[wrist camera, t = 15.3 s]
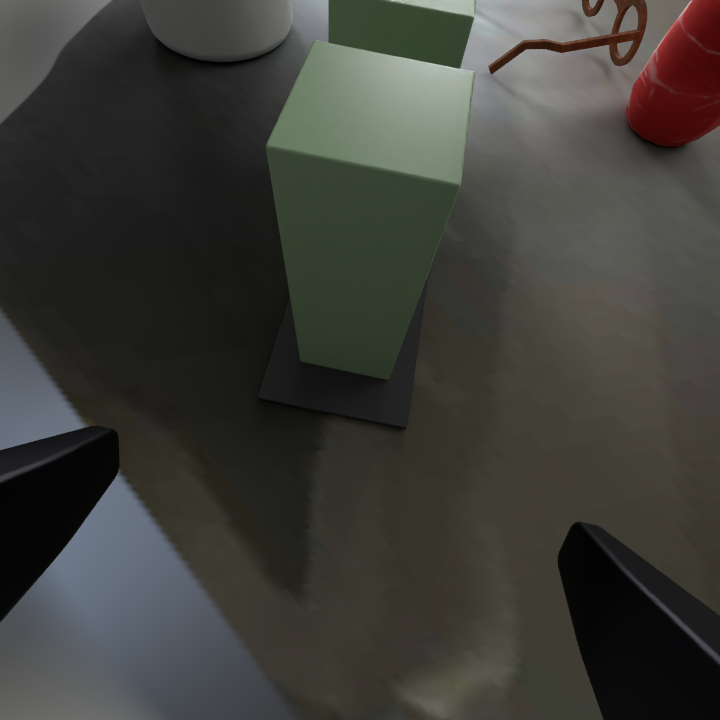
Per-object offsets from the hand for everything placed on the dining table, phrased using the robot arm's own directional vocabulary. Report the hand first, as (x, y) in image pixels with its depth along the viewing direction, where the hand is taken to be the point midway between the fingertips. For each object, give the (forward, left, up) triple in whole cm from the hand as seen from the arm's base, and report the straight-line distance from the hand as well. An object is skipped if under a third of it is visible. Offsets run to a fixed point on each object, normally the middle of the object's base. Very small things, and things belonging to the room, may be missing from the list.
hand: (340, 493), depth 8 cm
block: (+10, +3, -12) cm, 15 cm away
